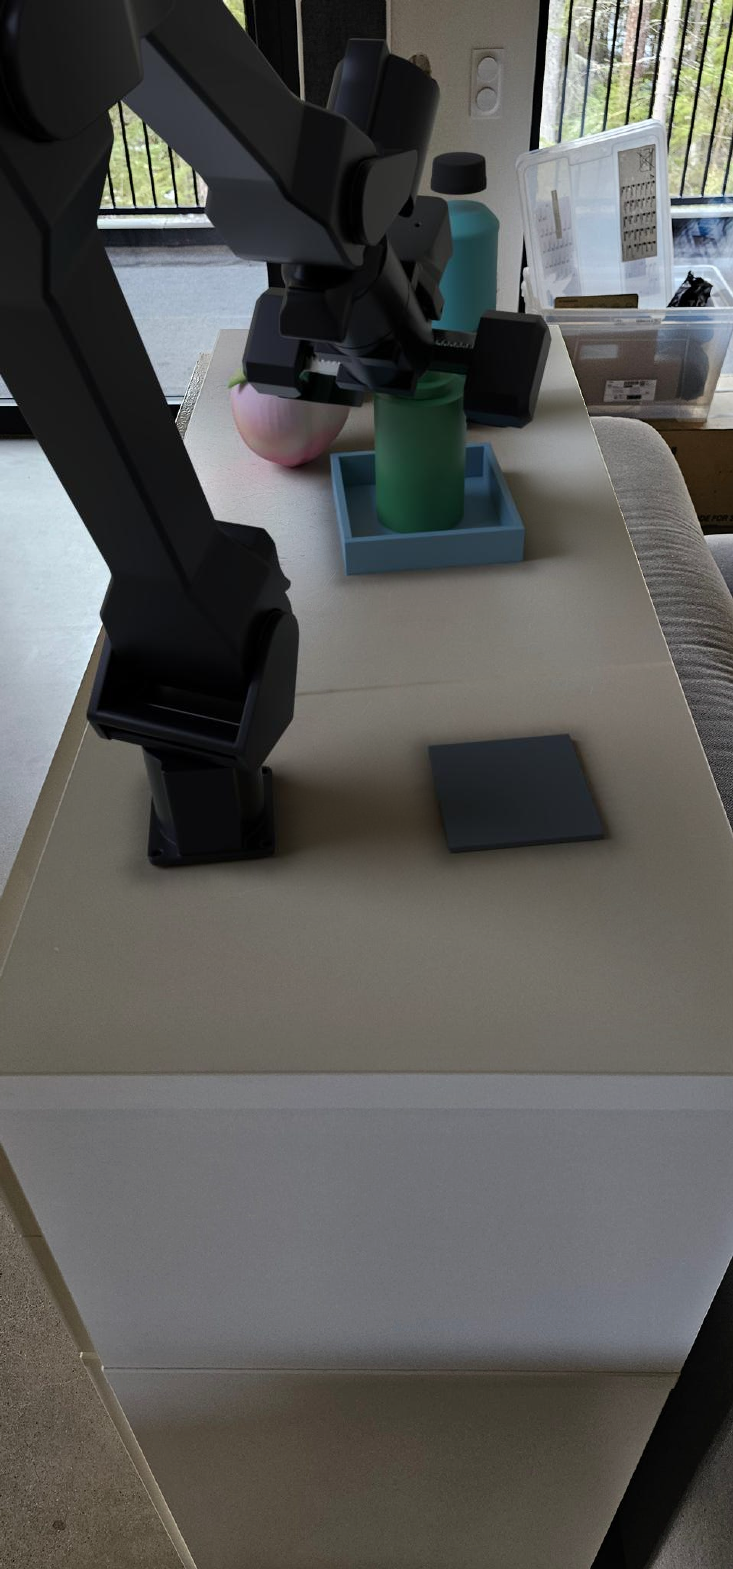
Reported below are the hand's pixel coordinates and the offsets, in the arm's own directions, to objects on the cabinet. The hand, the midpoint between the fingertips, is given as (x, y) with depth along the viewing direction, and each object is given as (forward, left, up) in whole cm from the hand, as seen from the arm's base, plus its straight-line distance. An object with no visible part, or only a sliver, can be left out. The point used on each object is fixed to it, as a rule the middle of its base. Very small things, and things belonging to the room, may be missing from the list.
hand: (423, 408), depth 76 cm
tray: (-2, 0, -8) cm, 8 cm away
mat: (-31, -1, -8) cm, 32 cm away
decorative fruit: (+9, +9, -8) cm, 16 cm away
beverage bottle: (+15, -5, -8) cm, 18 cm away
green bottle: (-1, 0, -8) cm, 8 cm away
